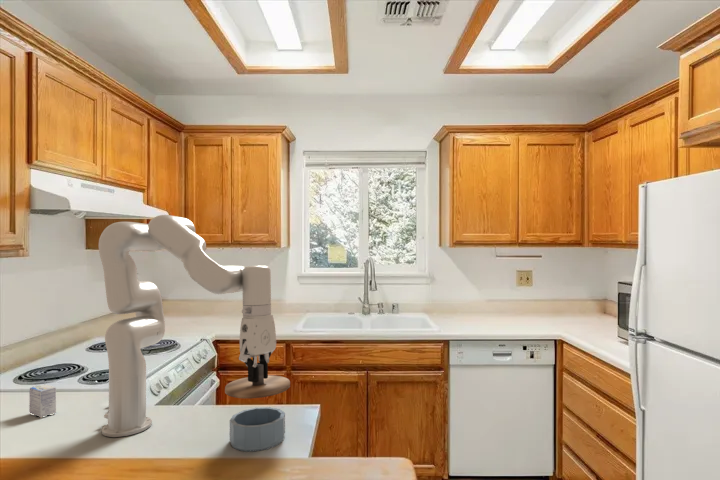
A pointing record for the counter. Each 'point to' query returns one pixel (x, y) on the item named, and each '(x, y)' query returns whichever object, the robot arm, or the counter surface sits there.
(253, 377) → the robot arm
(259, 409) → the bowl
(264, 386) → the lid
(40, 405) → the medicine box
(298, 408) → the counter surface
